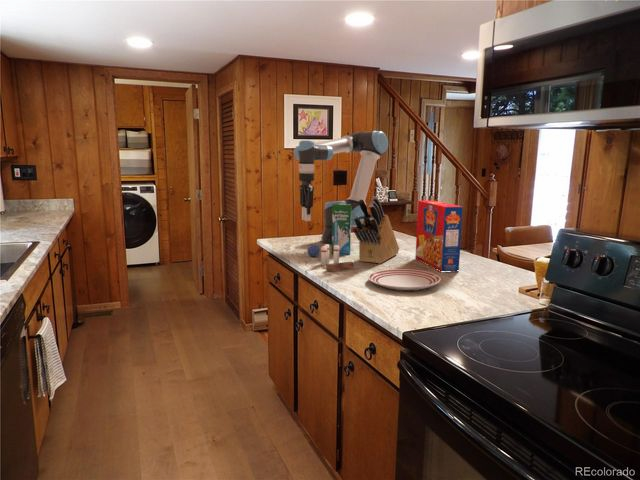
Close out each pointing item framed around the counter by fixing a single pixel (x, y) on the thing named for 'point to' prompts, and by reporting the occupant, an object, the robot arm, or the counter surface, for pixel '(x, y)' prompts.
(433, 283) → the dinner plate
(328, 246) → the front pin
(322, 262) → the pin
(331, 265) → the brown wooden bar
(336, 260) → the pin
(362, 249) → the knife block
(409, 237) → the counter surface
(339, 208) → the milk carton
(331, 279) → the counter surface
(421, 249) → the pasta box
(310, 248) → the ball
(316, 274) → the counter surface
